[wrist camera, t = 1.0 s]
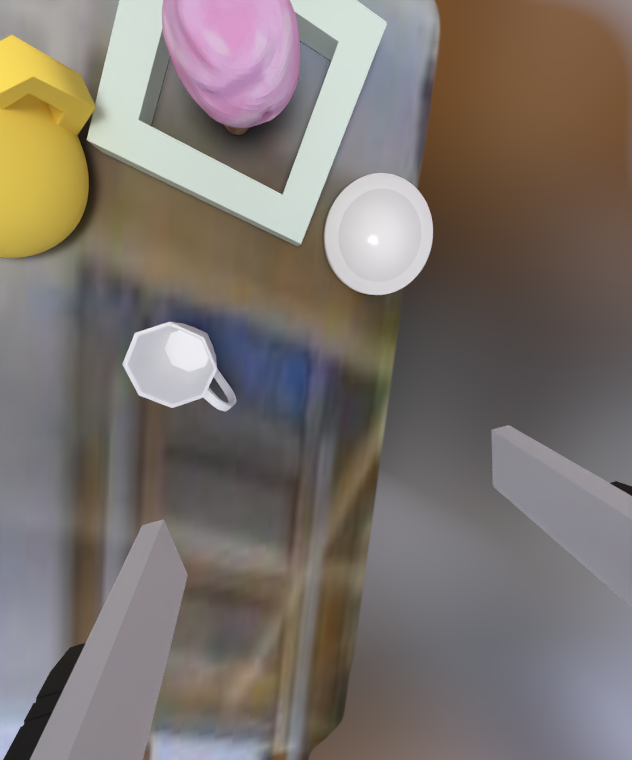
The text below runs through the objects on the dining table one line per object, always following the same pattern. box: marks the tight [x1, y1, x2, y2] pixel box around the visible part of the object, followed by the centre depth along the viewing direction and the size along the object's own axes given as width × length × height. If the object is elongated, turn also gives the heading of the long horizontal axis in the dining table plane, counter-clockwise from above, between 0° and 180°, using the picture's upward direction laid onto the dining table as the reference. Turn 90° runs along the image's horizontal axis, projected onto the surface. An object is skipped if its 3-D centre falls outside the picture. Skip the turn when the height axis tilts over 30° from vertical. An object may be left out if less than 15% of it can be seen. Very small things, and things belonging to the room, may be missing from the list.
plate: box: [323, 173, 433, 295], centre depth 32 cm, size 11×11×1 cm
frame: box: [87, 0, 387, 246], centre depth 27 cm, size 18×18×2 cm
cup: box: [122, 322, 237, 412], centre depth 30 cm, size 7×10×8 cm
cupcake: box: [162, 0, 300, 135], centre depth 23 cm, size 9×9×10 cm
